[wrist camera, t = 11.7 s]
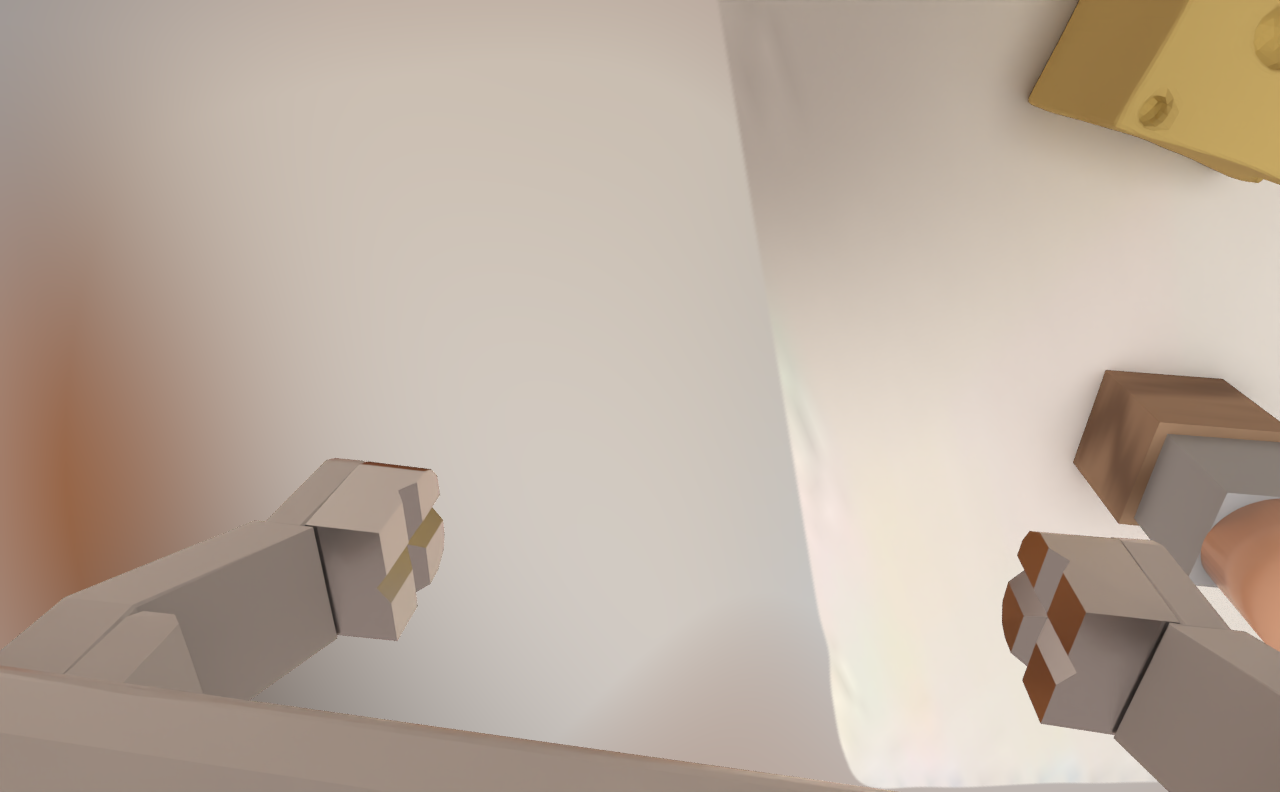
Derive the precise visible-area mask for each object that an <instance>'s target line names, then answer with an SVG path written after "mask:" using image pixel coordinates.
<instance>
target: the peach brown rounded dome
mask: <svg viewBox="0 0 1280 792" xmlns="http://www.w3.org/2000/svg"><path fill="white" fill-rule="evenodd" d="M1201 563H1202V566H1203V568H1204V570H1205V572H1206V573H1207V574H1208V576H1209V577H1210V578H1211V579H1212V580H1213V582H1214V583H1215V584H1216V585H1217V586H1218V588H1219V589H1220V590H1221V591H1222V592H1223V594H1224V595H1225V596H1226V597H1227V598H1228V600H1229V601H1230V602H1231V603H1232V604H1233V606H1234V607H1235V608H1236V609H1237V610H1238V612H1239V613H1240V614H1241V615H1242V616H1243V618H1244V619H1245V620H1246V621H1247V622H1248V624H1249V625H1250V626H1251V627H1252V628H1253V630H1254V631H1255V632H1256V633H1257V634H1258V636H1259V637H1260V638H1261V639H1262V640H1263V642H1264V643H1265V644H1267V645H1269V646H1271V647H1272V648H1274V649H1276V650H1277V651H1279V652H1280V498H1279V499H1269V500H1263V501H1259V502H1255V503H1252V504H1249V505H1246V506H1244V507H1241V508H1239V509H1237V510H1235V511H1233V512H1232V513H1230V514H1228V515H1227V516H1225V517H1224V518H1223V519H1221V520H1220V521H1219V522H1218V523H1217V524H1216V525H1215V526H1214V527H1213V528H1212V529H1211V530H1210V531H1209V532H1208V534H1207V536H1206V537H1205V539H1204V541H1203V544H1202V547H1201Z"/></svg>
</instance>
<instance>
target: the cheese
mask: <svg viewBox="0 0 1280 792" xmlns="http://www.w3.org/2000/svg"><path fill="white" fill-rule="evenodd" d="M1028 101H1029V103H1030V104H1031V105H1034V106H1036V107H1039V108H1041V109H1044V110H1046V111H1049V112H1052V113H1055V114H1059V115H1063V116H1066V117H1070V118H1074V119H1078V120H1082V121H1085V122H1088V123H1092V124H1095V125H1099V126H1102V127H1105V128H1109V129H1113V130H1116V131H1120V132H1123V133H1126V134H1130V135H1133V136H1136V137H1139V138H1142V139H1145V140H1147V141H1150V142H1152V143H1155V144H1156V145H1158V146H1161V147H1163V148H1166V149H1168V150H1171V151H1174V152H1176V153H1179V154H1181V155H1184V156H1186V157H1188V158H1190V159H1193V160H1195V161H1197V162H1199V163H1201V164H1203V165H1205V166H1207V167H1210V168H1212V169H1214V170H1216V171H1218V172H1220V173H1222V174H1224V175H1227V176H1229V177H1232V178H1235V179H1238V180H1242V181H1247V182H1255V183H1259V182H1261V181H1262V180H1263V179H1265V180H1268V181H1271V182H1274V183H1277V184H1279V185H1280V0H1079V2H1078V4H1077V6H1076V8H1075V10H1074V12H1073V14H1072V16H1071V18H1070V20H1069V22H1068V24H1067V26H1066V28H1065V30H1064V32H1063V34H1062V36H1061V38H1060V40H1059V42H1058V44H1057V45H1056V47H1055V49H1054V51H1053V53H1052V55H1051V57H1050V59H1049V61H1048V62H1047V64H1046V66H1045V68H1044V70H1043V72H1042V74H1041V76H1040V78H1039V79H1038V81H1037V83H1036V85H1035V87H1034V89H1033V91H1032V93H1031V94H1030V97H1029V100H1028Z"/></svg>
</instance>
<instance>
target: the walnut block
mask: <svg viewBox="0 0 1280 792" xmlns="http://www.w3.org/2000/svg"><path fill="white" fill-rule="evenodd" d="M1167 434H1176V435H1190V436H1203V437H1217V438H1230V439H1244V440H1257V441H1271V442H1280V421H1278V420H1277V419H1276V418H1274V417H1273V416H1272V415H1270V414H1269V413H1268V412H1266V411H1265V410H1264V409H1262V408H1261V407H1260V406H1258V405H1257V404H1256V403H1254V402H1253V401H1252V400H1250V399H1249V398H1248V397H1246V396H1245V395H1243V394H1242V393H1241V392H1239V391H1238V390H1237V389H1235V388H1234V387H1233V386H1231V385H1230V384H1229V383H1227V382H1226V381H1225V380H1223V379H1215V378H1202V377H1189V376H1176V375H1163V374H1150V373H1137V372H1124V371H1111V370H1106V371H1105V374H1104V377H1103V379H1102V382H1101V385H1100V388H1099V391H1098V393H1097V396H1096V399H1095V402H1094V405H1093V408H1092V410H1091V413H1090V416H1089V419H1088V422H1087V425H1086V427H1085V430H1084V433H1083V436H1082V439H1081V441H1080V444H1079V447H1078V450H1077V453H1076V456H1075V458H1074V461H1073V463H1074V464H1075V465H1076V467H1077V468H1078V470H1079V471H1080V472H1081V474H1082V475H1083V476H1084V478H1085V479H1086V480H1087V482H1088V483H1089V484H1090V486H1091V487H1092V488H1093V490H1094V491H1095V492H1096V494H1097V495H1098V497H1099V498H1100V499H1101V501H1102V502H1103V503H1104V505H1105V506H1106V507H1107V509H1108V510H1109V511H1110V513H1111V514H1112V515H1113V517H1114V518H1115V519H1116V521H1117V522H1118V524H1128V525H1139V524H1138V523H1137V522H1136V520H1135V519H1134V517H1135V514H1136V512H1137V509H1138V507H1139V504H1140V502H1141V499H1142V497H1143V494H1144V492H1145V489H1146V487H1147V484H1148V482H1149V479H1150V476H1151V474H1152V471H1153V469H1154V466H1155V464H1156V461H1157V459H1158V456H1159V454H1160V451H1161V449H1162V446H1163V444H1164V441H1165V439H1166V436H1167ZM1139 526H1140V525H1139Z"/></svg>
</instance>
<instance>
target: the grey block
mask: <svg viewBox="0 0 1280 792" xmlns="http://www.w3.org/2000/svg"><path fill="white" fill-rule="evenodd" d="M1279 498H1280V442H1271V441H1257V440H1244V439H1230V438H1217V437H1203V436H1190V435H1176V434H1167V436H1166V439H1165V441H1164V444H1163V446H1162V449H1161V451H1160V454H1159V456H1158V459H1157V461H1156V464H1155V466H1154V469H1153V471H1152V474H1151V476H1150V479H1149V482H1148V484H1147V487H1146V489H1145V492H1144V494H1143V497H1142V499H1141V502H1140V504H1139V507H1138V509H1137V512H1136V514H1135V517H1134V519H1135V520H1136V522H1137V523H1138V524H1139V525H1140V527H1141V528H1142V529H1143V531H1144V532H1145V533H1146V534H1147V536H1148V537H1149V538H1150V540H1153V541H1155V542H1157V543H1159V544H1161V545H1163V546H1164V547H1165V548H1166V549H1167V551H1168V552H1169V553H1170V554H1171V556H1172V557H1173V558H1174V559H1175V561H1176V562H1177V563H1178V564H1179V566H1180V567H1181V568H1182V569H1183V571H1184V572H1185V573H1186V574H1187V576H1188V577H1189V578H1190V579H1191V581H1192V582H1193V583H1194V584H1195V585H1197V586H1207V587H1218V586H1217V585H1216V584H1215V583H1214V582H1213V580H1212V579H1211V578H1210V577H1209V576H1208V574H1207V573H1206V572H1205V570H1204V568H1203V566H1202V563H1201V547H1202V544H1203V541H1204V539H1205V537H1206V536H1207V534H1208V532H1209V531H1210V530H1211V529H1212V528H1213V527H1214V526H1215V525H1216V524H1217V523H1218V522H1219V521H1220V520H1221V519H1223V518H1224V517H1225V516H1227V515H1228V514H1230V513H1232V512H1233V511H1235V510H1237V509H1239V508H1241V507H1244V506H1246V505H1249V504H1252V503H1255V502H1259V501H1263V500H1269V499H1279Z"/></svg>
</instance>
